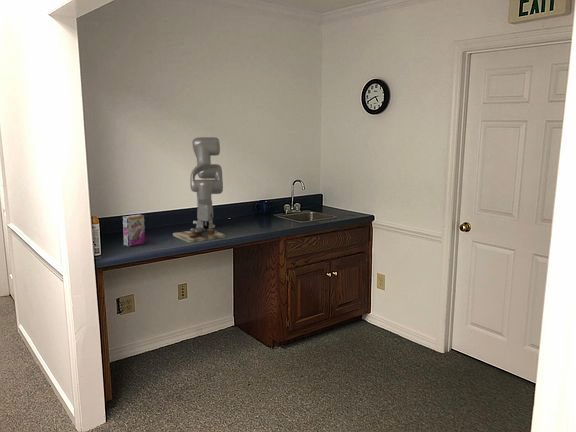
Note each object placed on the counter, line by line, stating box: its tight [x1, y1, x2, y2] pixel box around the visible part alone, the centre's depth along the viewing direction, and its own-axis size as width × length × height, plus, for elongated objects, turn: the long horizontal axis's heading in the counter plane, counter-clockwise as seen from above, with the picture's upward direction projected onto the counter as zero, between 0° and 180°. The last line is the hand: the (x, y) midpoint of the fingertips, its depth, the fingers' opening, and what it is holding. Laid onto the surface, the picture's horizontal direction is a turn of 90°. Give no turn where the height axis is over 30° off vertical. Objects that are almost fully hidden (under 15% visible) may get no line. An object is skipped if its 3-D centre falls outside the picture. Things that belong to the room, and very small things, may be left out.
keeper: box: [195, 227, 208, 238], centre depth 291 cm, size 4×9×5 cm, turn 37°
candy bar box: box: [122, 214, 146, 247], centre depth 276 cm, size 11×5×16 cm, turn 141°
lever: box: [189, 227, 216, 238], centre depth 294 cm, size 18×4×5 cm, turn 143°
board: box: [172, 230, 227, 243], centre depth 298 cm, size 24×22×2 cm
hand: (206, 231), depth 302 cm, fingers closed
